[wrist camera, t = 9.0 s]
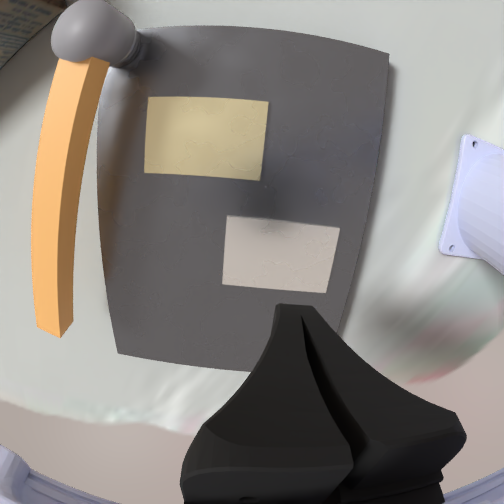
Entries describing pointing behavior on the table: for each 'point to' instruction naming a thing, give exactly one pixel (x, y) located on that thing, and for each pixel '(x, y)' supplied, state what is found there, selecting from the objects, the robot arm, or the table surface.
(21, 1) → the beverage carton
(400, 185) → the table surface
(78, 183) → the swing arm
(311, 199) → the panel
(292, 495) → the robot arm
